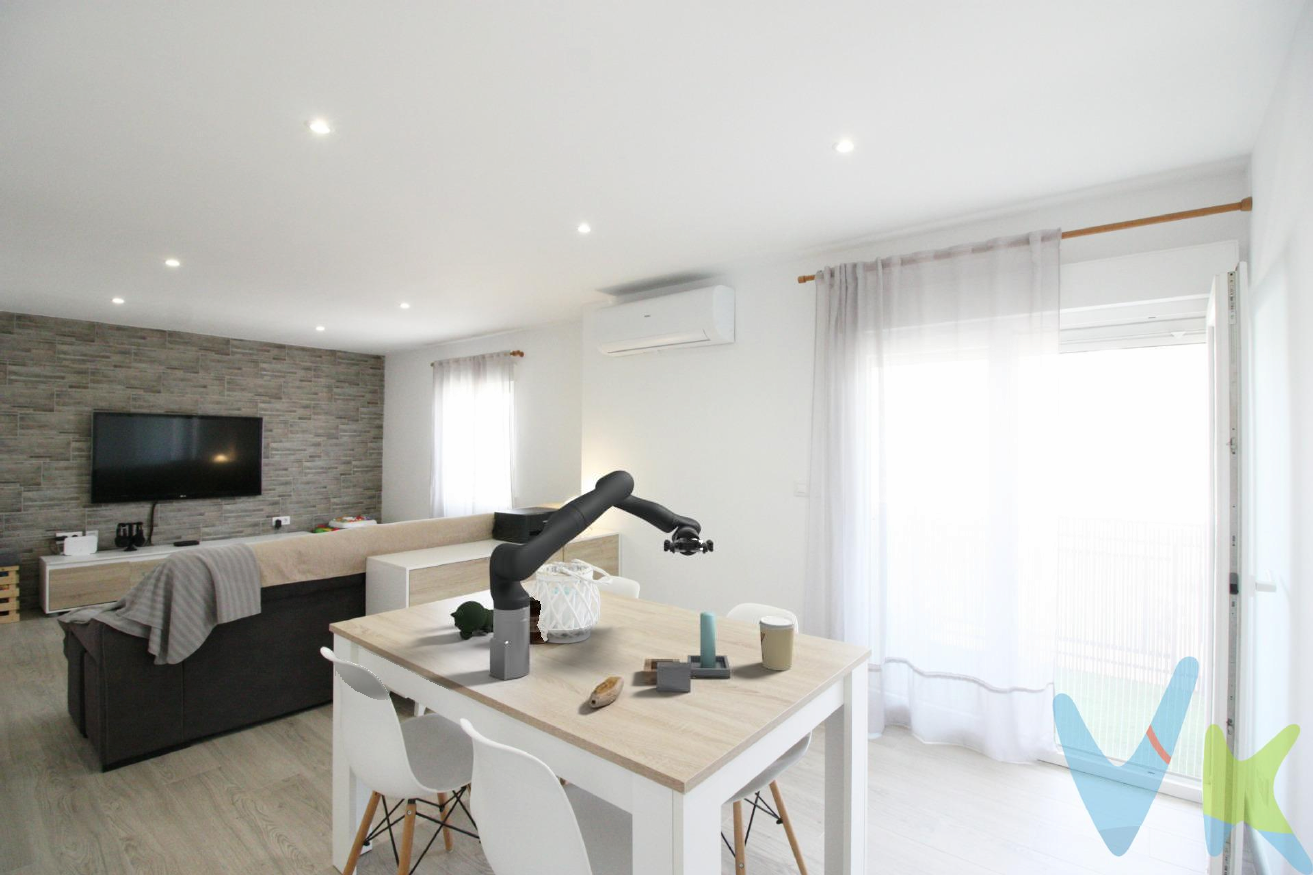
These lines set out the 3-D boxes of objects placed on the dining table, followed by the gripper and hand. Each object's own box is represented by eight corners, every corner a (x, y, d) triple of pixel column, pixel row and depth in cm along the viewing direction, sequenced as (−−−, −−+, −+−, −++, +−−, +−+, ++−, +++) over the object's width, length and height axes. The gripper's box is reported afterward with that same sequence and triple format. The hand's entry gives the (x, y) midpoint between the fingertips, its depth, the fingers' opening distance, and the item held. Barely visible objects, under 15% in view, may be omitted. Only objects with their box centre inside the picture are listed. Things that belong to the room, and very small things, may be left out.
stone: (581, 710, 133) (581, 690, 133) (611, 687, 146) (611, 669, 146) (601, 715, 131) (602, 694, 131) (630, 691, 144) (631, 673, 144)
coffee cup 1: (545, 646, 176) (545, 602, 177) (519, 644, 178) (519, 600, 178) (556, 637, 185) (556, 595, 185) (531, 635, 187) (531, 593, 187)
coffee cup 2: (764, 657, 167) (764, 614, 167) (798, 662, 163) (798, 618, 163) (755, 668, 159) (754, 622, 159) (790, 674, 155) (790, 627, 155)
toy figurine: (498, 627, 201) (437, 640, 180) (502, 569, 203) (442, 576, 182) (519, 631, 197) (459, 645, 175) (523, 572, 199) (464, 579, 177)
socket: (679, 683, 148) (679, 671, 148) (643, 683, 148) (643, 671, 148) (679, 670, 157) (679, 658, 157) (645, 670, 157) (645, 658, 157)
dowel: (710, 671, 155) (710, 617, 155) (697, 668, 157) (697, 614, 157) (718, 667, 158) (718, 613, 158) (705, 663, 160) (705, 611, 161)
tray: (730, 677, 152) (730, 669, 152) (688, 677, 152) (688, 669, 152) (726, 663, 163) (726, 655, 163) (687, 662, 163) (687, 654, 163)
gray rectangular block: (690, 692, 143) (690, 666, 143) (657, 691, 143) (657, 666, 143) (690, 687, 146) (690, 662, 146) (657, 686, 146) (657, 661, 146)
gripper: (664, 528, 183) (663, 536, 167) (710, 528, 183) (714, 536, 167) (664, 553, 183) (663, 563, 167) (710, 553, 183) (714, 563, 167)
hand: (689, 549), depth 167 cm, fingers open, 8 cm apart
